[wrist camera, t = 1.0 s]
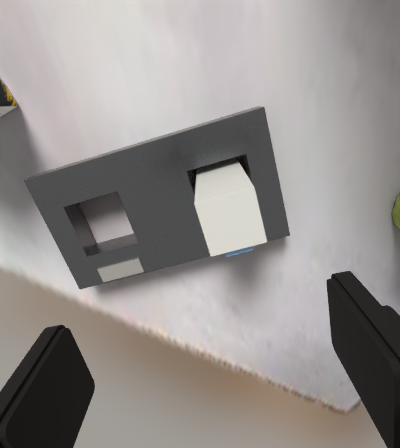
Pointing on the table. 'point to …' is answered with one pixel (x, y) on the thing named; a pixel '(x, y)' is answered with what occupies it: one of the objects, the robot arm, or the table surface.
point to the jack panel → (155, 197)
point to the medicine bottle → (6, 100)
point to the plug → (228, 209)
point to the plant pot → (396, 212)
